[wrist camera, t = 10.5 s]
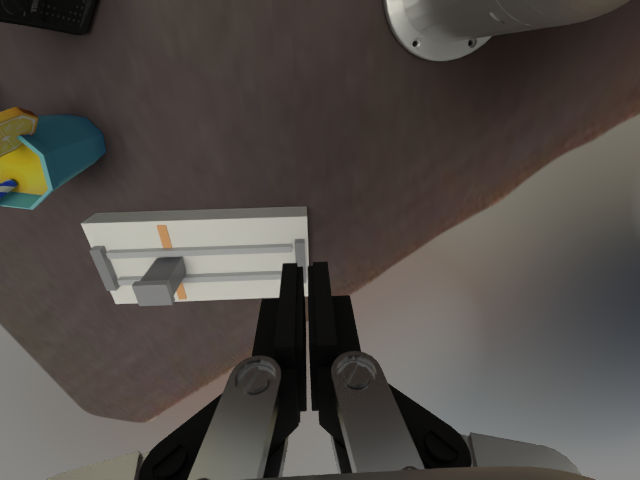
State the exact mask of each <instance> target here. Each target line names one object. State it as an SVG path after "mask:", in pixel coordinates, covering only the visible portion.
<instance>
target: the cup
mask: <svg viewBox="0 0 640 480" xmlns="http://www.w3.org/2000/svg"><path fill="white" fill-rule="evenodd" d="M105 153H106V148H105V142H104V136H103V133H102V132H101V131H100V130H99V129H98V128H97V127H96V126H95V125H94V124H93V123H92V122H90V121H89V120H88V119H87V118H86V117H80V116H74V115H67V114H62V115H48V116H36V115H35V114H34V113H32V112H31V111H28V110H25V109H21V108H18V107H13V108H10V109H7V110H5V111H2V112H0V206H6V207H14V208H23V209H32V210H33V209H34V208H35V207H37V206H38V205H39V204H40V203H41V202H43V201H44V200H45V199H46V198H47V197H48V196H49V195H50V194H51V193H52V192H53V191H54V190H56V189H57V188H59V187H60V186H61V185H63V184H64V183H66V182H67V181H69V180H70V179H72V178H73V177H75V176H76V175H78V174H79V173H81V172H82V171H84V170H85V169H87V168H88V167H89V166H91V165H92V164H94V163H95V162H96V161H97V160H98V159H99V158H100V157H102V156H103V155H104V154H105Z"/></svg>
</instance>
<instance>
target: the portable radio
mask: <svg viewBox="0 0 640 480" xmlns="http://www.w3.org/2000/svg"><path fill="white" fill-rule="evenodd" d="M95 2H96V0H0V22H5V23H12V24H18V25H25V26H31V27H37V28H42V29H48V30H54V31H59V32H64V33H69V34H74V35H82V34H86V33H87V30H88V26H89V23H90V19H91V16H92V12H93V9H94V5H95Z"/></svg>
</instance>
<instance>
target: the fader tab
mask: <svg viewBox="0 0 640 480" xmlns="http://www.w3.org/2000/svg"><path fill="white" fill-rule="evenodd" d="M185 275H186V270H185V266H184V262H183V259H182V257H167V258H157V259H156V260H155V261H154V263H153V264H152V265H151V267H150V268H149V269H148V271H147V272H146V273H145V275H144V276H143V277H142V279H141V280H140V281H135V282H134V283H133V285H132V288H133V291H134V293H135V296H136V299H137V301H138V304H139V306H155V305H173V303H174V301H175V298H174V294H175V292H176V291H177V289H178V287H179V285H180V284H181V282H182V280H183V278H184V276H185Z"/></svg>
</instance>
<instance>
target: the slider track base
mask: <svg viewBox="0 0 640 480" xmlns="http://www.w3.org/2000/svg"><path fill="white" fill-rule="evenodd" d="M81 225H82V227H83V230H84V232H85V234H86V236H87V239H88V241H89V243H90V246H91V249H90V250H89V251H90V253H91V256H92V258H93V260H94V263H95V265H96V267H97V269H98V272H99V274H100V276H101V278H102V281H103V283H104V285H105V287H106V290H107V291H110V292H111V294H112V296H113V299H114V301H115V303H116V304H128V303H138V301H137V299H136V296H135V293H134V291H133V288H132V285H133V283H134V282H135V281H140V280H141V279H142V277H143V276H144V275H145V273H146V272H147V271H148V269H149V268H150V267H151V265H152V264H153V263H154V261H155V260H156V259H157V258H167V257H182V259H183V262H184V266H185V270H186V275H185V276H184V278H183V280H182V282H181V284H180V285H179V287H178V289H177V291H176V292H175V294H174V298H175V301H174V302H177V301H202V300H227V299H251V298H276V297H279V294H280V284H281V275H282V265H283V263H297V265H298V267H301V266H303V275H304V296H308V266H309V253H308V226H307V206H302V207H270V208H237V209H205V210H172V211H140V212H107V213H95V214H94V215H92V216H91V217H90V218H88V219H87V220H85V221H84V222H83V223H81Z"/></svg>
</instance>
